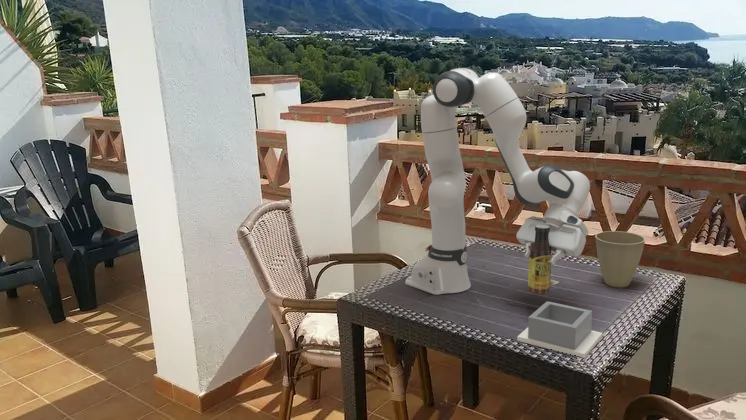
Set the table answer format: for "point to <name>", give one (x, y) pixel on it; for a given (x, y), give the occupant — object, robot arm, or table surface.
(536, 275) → the sauce bottle
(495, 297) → the table surface
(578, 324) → the box
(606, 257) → the plant pot
